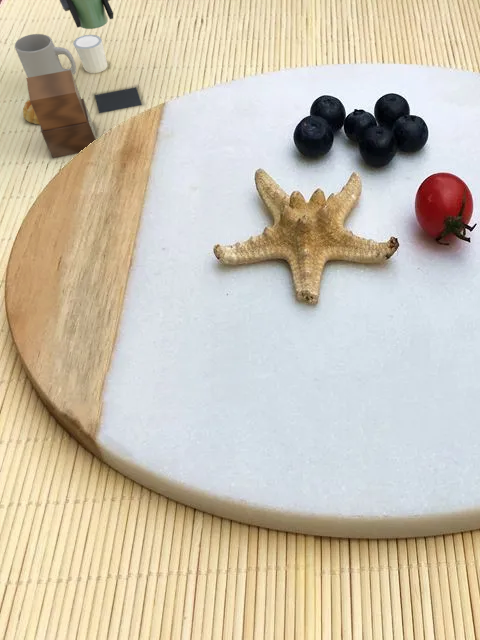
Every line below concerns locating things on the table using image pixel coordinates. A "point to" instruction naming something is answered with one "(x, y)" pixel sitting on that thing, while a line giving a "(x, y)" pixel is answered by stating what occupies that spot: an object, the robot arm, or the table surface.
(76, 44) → the white cup
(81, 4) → the green canister
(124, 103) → the slate mat
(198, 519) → the table surface
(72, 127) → the walnut block
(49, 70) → the mug
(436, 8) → the table surface
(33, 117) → the pastry
